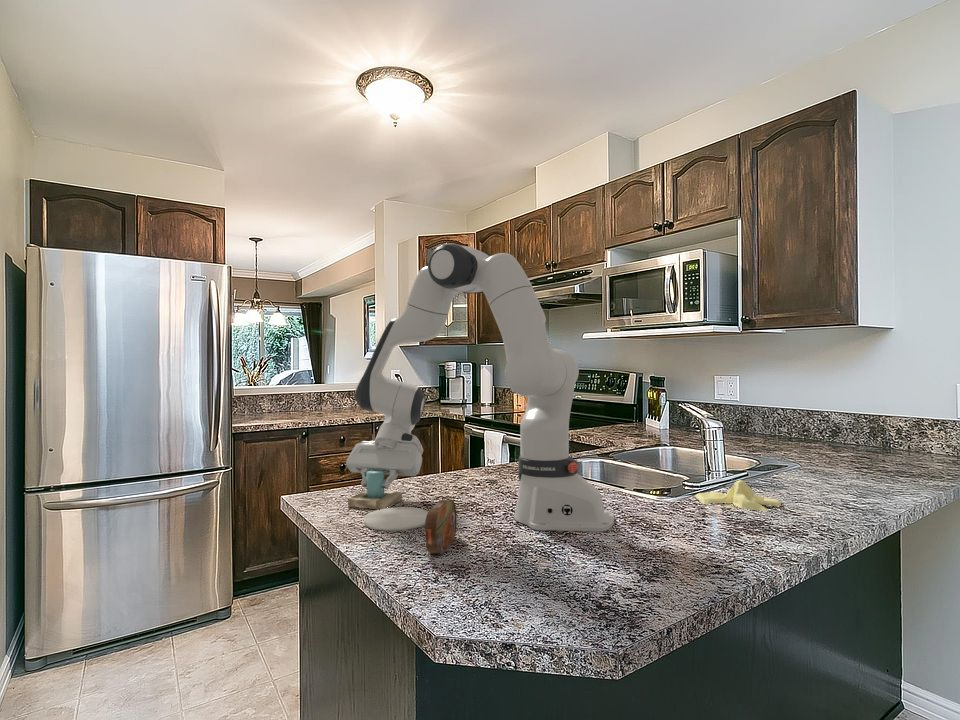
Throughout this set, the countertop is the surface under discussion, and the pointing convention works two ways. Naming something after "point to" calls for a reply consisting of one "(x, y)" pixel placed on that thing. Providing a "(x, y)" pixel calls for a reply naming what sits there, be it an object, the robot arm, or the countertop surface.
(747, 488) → the cloth
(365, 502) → the pocket block
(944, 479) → the countertop surface
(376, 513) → the round white disc
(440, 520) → the tin
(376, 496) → the peg
